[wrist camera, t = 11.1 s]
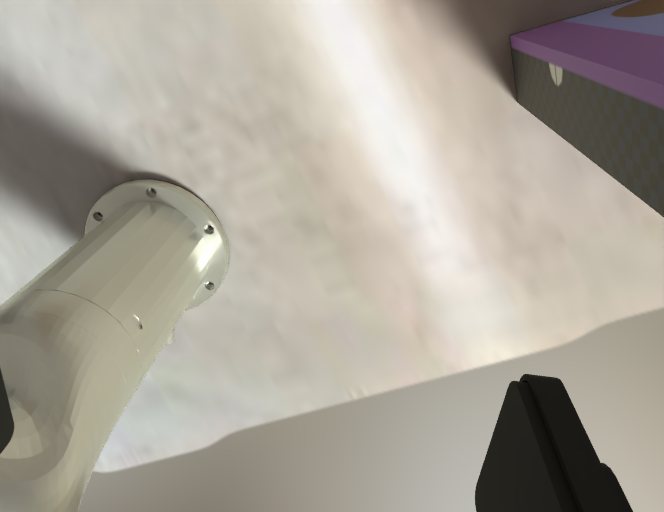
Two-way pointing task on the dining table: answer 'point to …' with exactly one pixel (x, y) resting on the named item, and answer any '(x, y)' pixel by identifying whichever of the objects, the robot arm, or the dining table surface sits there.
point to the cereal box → (602, 89)
